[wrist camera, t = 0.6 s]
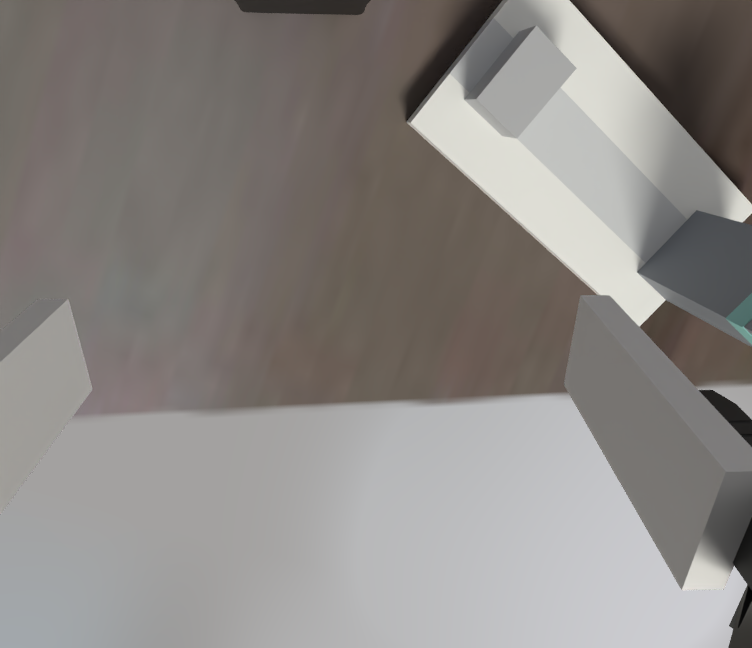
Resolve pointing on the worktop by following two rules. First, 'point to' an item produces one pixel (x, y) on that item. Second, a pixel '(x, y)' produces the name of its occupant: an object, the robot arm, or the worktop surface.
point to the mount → (593, 165)
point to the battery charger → (304, 6)
